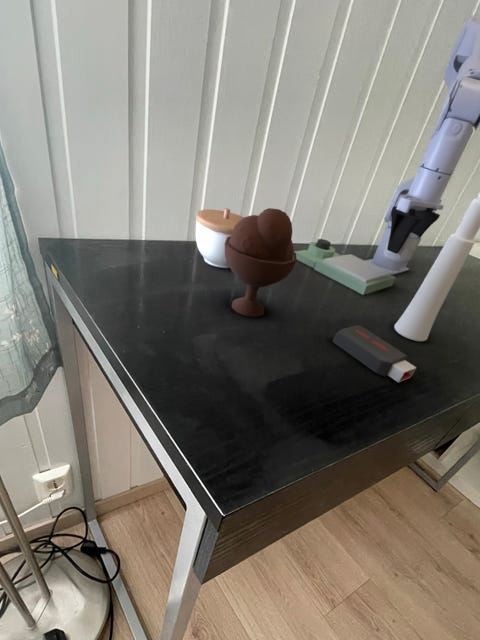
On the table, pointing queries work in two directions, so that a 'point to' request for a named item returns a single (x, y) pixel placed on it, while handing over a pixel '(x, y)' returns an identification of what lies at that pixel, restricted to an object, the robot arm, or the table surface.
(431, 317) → the cosmetic bottle
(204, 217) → the trinket box
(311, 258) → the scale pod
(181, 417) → the table surface
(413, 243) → the grey cup
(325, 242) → the button
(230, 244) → the ice cream bowl
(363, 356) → the usb drive
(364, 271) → the scale
